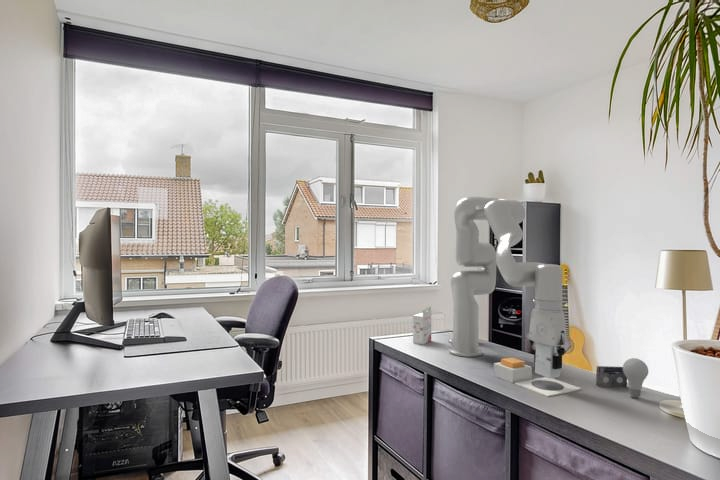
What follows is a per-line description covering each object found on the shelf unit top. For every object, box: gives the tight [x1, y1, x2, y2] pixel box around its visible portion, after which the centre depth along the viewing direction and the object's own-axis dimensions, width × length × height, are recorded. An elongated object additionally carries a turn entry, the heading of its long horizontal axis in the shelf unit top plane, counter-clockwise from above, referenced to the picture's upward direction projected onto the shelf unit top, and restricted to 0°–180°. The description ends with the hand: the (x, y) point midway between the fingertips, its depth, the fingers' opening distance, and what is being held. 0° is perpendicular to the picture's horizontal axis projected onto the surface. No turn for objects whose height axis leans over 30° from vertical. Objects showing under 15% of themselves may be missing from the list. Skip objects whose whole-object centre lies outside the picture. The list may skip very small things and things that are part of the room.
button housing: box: [493, 361, 533, 384], centre depth 143 cm, size 8×8×4 cm
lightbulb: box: [622, 357, 649, 399], centre depth 125 cm, size 6×6×11 cm
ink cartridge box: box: [412, 306, 432, 345], centre depth 189 cm, size 9×5×15 cm, turn 147°
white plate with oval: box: [514, 376, 582, 398], centre depth 134 cm, size 12×14×1 cm
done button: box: [500, 356, 525, 368], centre depth 142 cm, size 5×5×3 cm
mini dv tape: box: [595, 365, 628, 389], centre depth 135 cm, size 8×2×6 cm, turn 86°
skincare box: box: [534, 339, 561, 379], centre depth 134 cm, size 6×4×12 cm
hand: (547, 365), depth 134 cm, fingers closed on skincare box, 6 cm apart
